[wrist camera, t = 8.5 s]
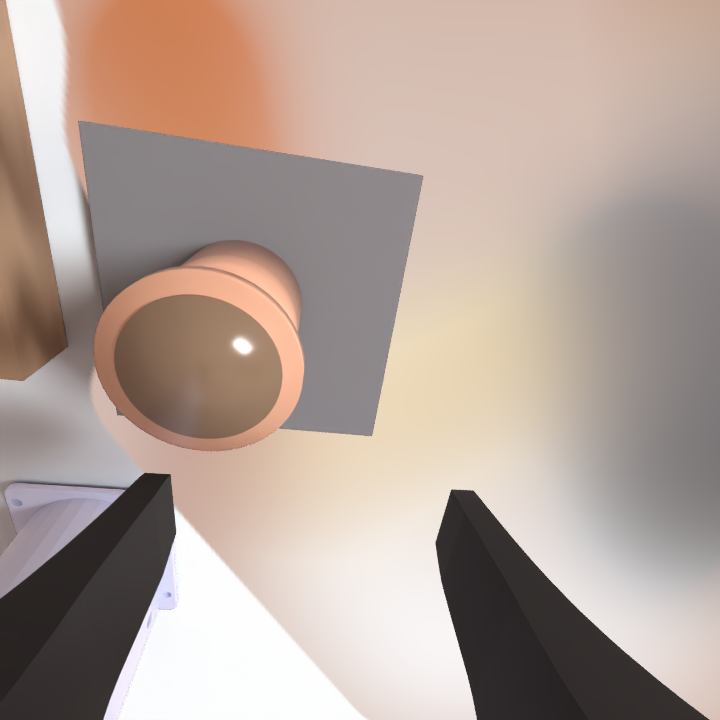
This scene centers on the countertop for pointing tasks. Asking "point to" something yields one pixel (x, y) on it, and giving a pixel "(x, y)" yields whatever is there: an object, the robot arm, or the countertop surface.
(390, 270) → the slate mat
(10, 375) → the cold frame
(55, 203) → the countertop surface
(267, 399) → the pot
